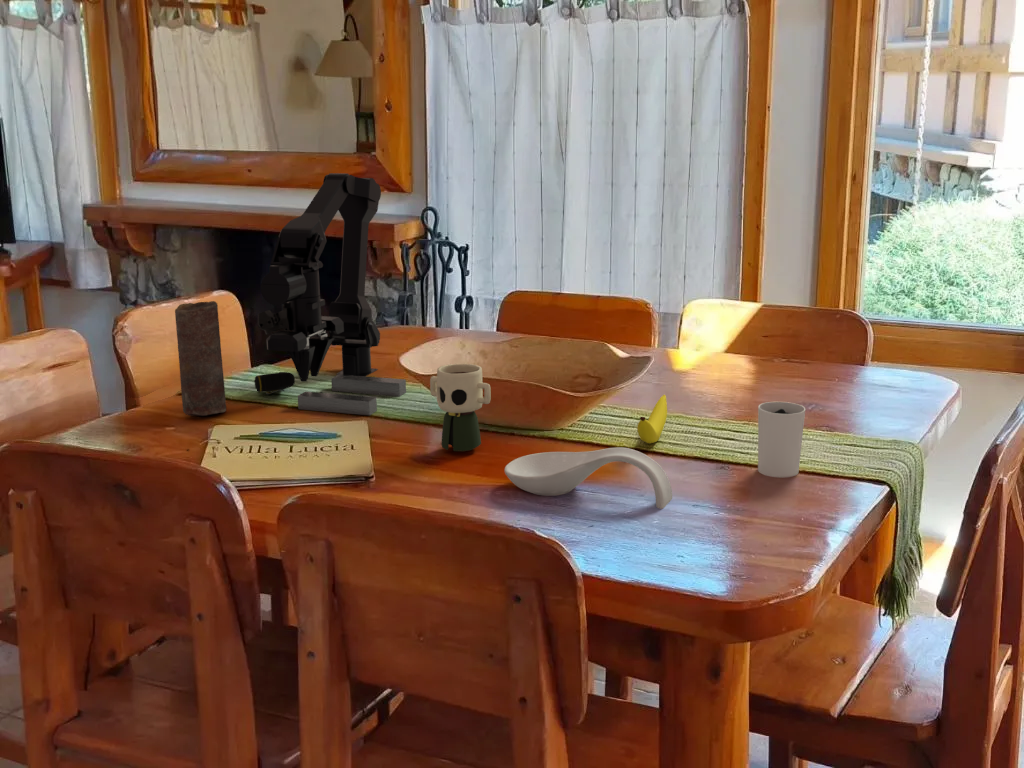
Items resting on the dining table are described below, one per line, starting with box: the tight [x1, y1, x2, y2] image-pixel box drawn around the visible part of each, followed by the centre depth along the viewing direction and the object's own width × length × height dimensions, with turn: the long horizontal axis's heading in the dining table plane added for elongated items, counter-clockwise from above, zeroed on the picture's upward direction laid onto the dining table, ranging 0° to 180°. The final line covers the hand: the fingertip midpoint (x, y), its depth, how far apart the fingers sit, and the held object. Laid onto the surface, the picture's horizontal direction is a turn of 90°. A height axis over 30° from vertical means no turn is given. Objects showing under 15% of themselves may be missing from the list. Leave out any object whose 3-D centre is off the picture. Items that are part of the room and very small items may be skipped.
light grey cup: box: [757, 401, 806, 478], centre depth 157 cm, size 7×7×10 cm
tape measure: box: [253, 371, 296, 395], centre depth 203 cm, size 7×7×4 cm
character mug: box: [429, 363, 492, 452], centre depth 169 cm, size 11×7×13 cm, turn 61°
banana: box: [636, 394, 668, 444], centre depth 174 cm, size 3×19×6 cm, turn 162°
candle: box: [174, 300, 227, 417], centre depth 188 cm, size 8×7×20 cm
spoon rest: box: [504, 446, 673, 510], centre depth 150 cm, size 24×12×7 cm, turn 66°
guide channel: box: [297, 375, 407, 416], centre depth 199 cm, size 16×14×2 cm
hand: (309, 378), depth 201 cm, fingers open, 4 cm apart
